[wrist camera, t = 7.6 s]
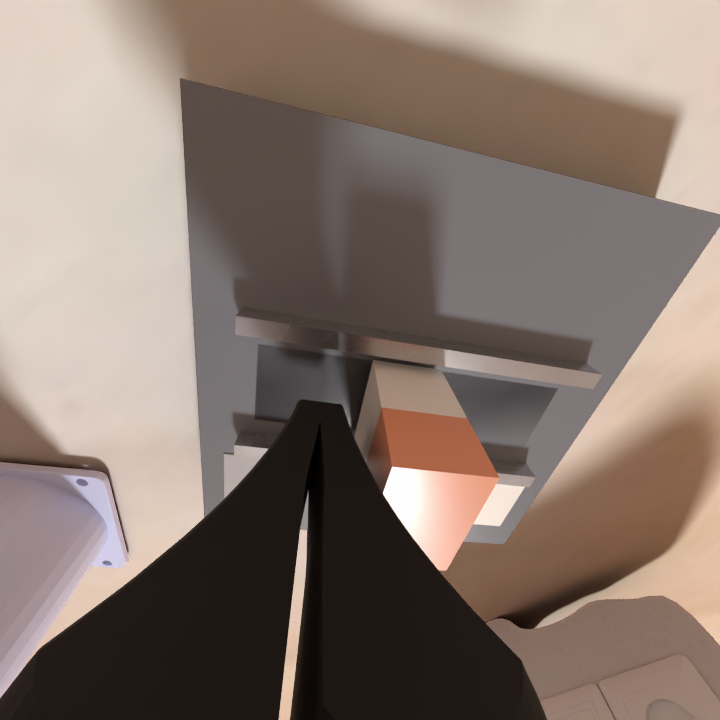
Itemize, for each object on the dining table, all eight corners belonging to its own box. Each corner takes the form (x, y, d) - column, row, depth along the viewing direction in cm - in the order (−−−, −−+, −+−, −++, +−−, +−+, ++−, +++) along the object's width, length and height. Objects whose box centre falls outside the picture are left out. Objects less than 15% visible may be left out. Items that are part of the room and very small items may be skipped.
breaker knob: (353, 440, 12) (358, 565, 8) (373, 359, 11) (392, 467, 6) (412, 447, 12) (446, 570, 8) (441, 369, 11) (499, 478, 7)
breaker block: (222, 478, 17) (197, 539, 14) (217, 104, 9) (162, 66, 6) (484, 502, 19) (510, 560, 16) (652, 210, 11) (758, 218, 8)
